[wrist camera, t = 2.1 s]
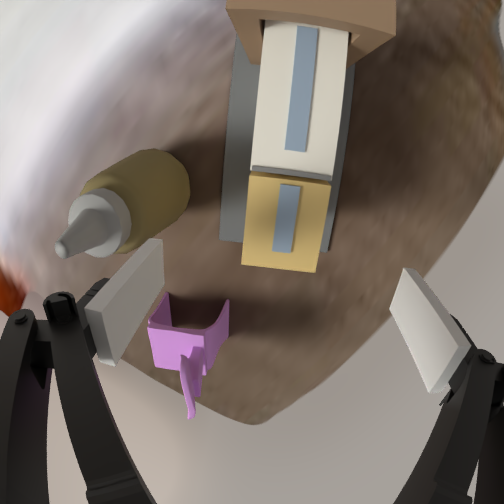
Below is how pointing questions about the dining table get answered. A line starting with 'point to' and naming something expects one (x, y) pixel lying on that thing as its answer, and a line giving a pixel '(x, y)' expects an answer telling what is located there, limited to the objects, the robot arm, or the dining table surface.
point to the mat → (242, 141)
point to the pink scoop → (186, 348)
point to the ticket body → (305, 74)
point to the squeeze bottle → (126, 205)
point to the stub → (284, 221)
